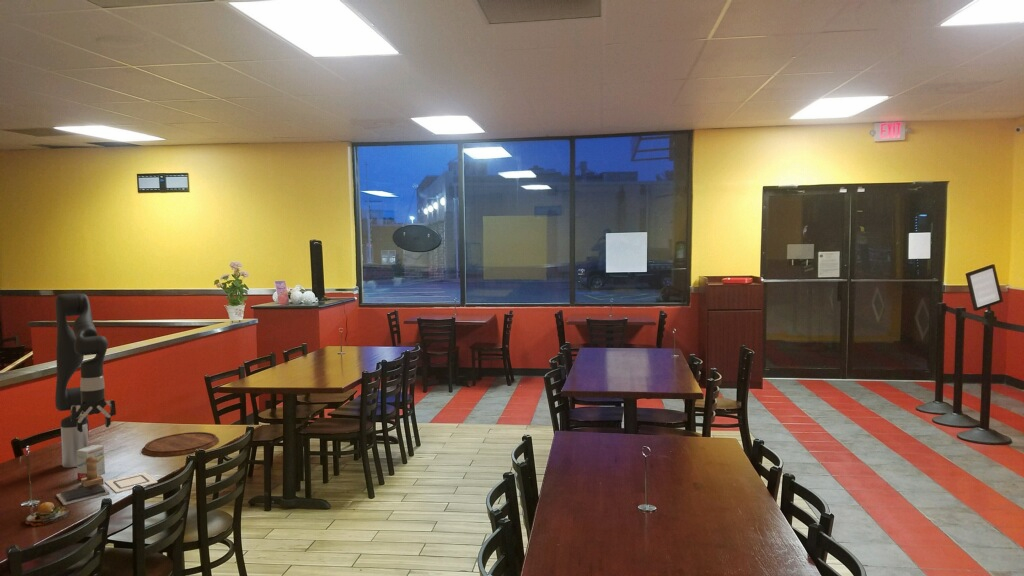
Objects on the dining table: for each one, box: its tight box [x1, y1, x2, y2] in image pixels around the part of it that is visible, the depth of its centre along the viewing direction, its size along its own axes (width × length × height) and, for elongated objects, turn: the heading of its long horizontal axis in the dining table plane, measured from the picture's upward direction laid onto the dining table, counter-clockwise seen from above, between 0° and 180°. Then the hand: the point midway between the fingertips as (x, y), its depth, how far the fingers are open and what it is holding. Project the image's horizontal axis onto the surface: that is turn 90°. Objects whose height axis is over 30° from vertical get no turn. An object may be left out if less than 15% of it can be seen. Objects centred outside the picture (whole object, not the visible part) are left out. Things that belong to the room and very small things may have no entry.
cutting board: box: [141, 431, 220, 458], centre depth 281 cm, size 32×32×2 cm
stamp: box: [80, 456, 105, 487], centre depth 233 cm, size 6×6×11 cm
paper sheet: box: [104, 471, 159, 494], centre depth 235 cm, size 16×14×1 cm
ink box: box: [76, 444, 106, 481], centre depth 242 cm, size 9×5×12 cm, turn 168°
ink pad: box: [56, 484, 110, 506], centre depth 222 cm, size 12×14×1 cm
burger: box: [24, 501, 70, 527], centre depth 203 cm, size 12×12×8 cm
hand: (94, 429), depth 229 cm, fingers open, 8 cm apart
